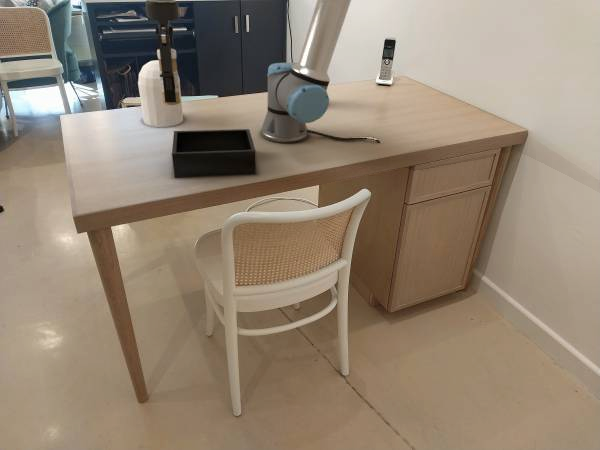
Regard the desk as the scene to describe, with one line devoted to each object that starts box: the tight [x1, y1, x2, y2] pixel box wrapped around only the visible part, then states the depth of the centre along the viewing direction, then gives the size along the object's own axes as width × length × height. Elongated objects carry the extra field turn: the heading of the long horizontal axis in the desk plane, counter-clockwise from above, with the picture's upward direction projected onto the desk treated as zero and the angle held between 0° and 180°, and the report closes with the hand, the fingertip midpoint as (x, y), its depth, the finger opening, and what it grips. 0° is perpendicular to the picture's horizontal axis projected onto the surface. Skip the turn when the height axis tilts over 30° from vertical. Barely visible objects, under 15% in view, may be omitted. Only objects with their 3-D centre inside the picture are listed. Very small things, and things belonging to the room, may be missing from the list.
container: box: [137, 59, 184, 128], centre depth 151 cm, size 13×13×20 cm
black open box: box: [171, 128, 257, 179], centre depth 128 cm, size 22×16×7 cm
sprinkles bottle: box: [156, 48, 180, 105], centre depth 114 cm, size 5×5×13 cm
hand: (171, 98), depth 118 cm, fingers closed on sprinkles bottle, 4 cm apart
